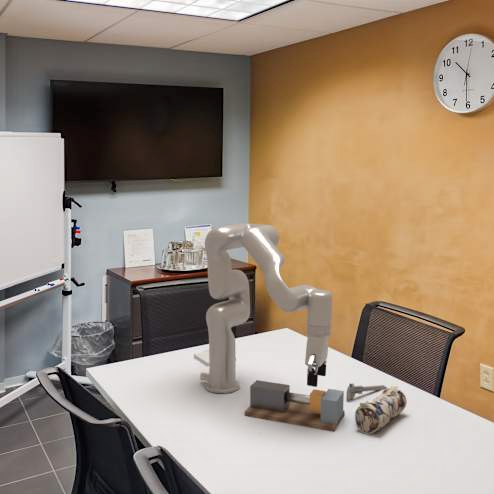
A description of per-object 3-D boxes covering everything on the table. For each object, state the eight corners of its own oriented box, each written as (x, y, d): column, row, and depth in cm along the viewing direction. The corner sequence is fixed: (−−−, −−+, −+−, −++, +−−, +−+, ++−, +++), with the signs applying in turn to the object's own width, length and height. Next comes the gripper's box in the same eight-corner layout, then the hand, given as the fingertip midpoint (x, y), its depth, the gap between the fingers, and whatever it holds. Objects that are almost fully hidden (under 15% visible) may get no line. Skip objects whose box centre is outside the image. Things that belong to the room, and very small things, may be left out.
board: (244, 415, 204) (244, 411, 204) (259, 401, 216) (259, 396, 215) (334, 431, 192) (334, 426, 192) (344, 415, 204) (344, 410, 204)
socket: (320, 421, 196) (320, 398, 195) (328, 410, 204) (328, 388, 203) (336, 424, 194) (336, 401, 193) (343, 413, 202) (343, 391, 201)
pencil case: (377, 438, 188) (379, 408, 187) (352, 431, 193) (353, 401, 192) (407, 414, 205) (408, 386, 204) (383, 408, 210) (384, 380, 209)
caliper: (348, 402, 215) (349, 385, 214) (346, 401, 216) (346, 384, 215) (387, 388, 228) (388, 372, 227) (384, 387, 229) (385, 371, 228)
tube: (277, 406, 204) (277, 389, 203) (281, 401, 208) (282, 384, 207) (332, 415, 197) (332, 397, 196) (335, 410, 201) (336, 392, 200)
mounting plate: (239, 363, 254) (239, 359, 254) (210, 369, 248) (210, 364, 248) (218, 351, 270) (218, 347, 270) (191, 356, 263) (191, 352, 263)
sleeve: (250, 407, 207) (250, 386, 206) (256, 400, 212) (256, 380, 211) (283, 413, 202) (283, 391, 201) (289, 406, 208) (289, 385, 206)
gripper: (315, 320, 206) (313, 369, 209) (299, 334, 190) (296, 388, 193) (337, 323, 203) (334, 373, 206) (322, 338, 187) (320, 392, 190)
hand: (316, 380), depth 200 cm, fingers open, 9 cm apart
